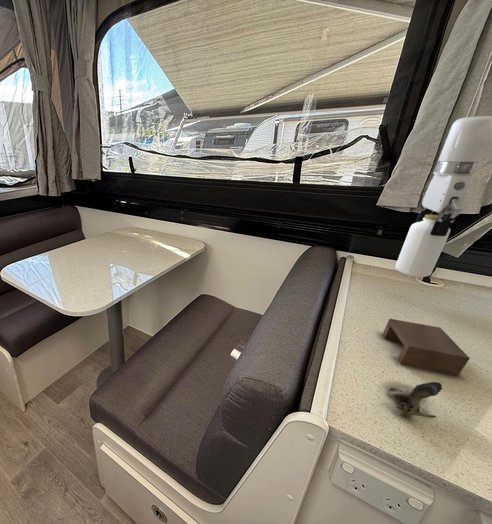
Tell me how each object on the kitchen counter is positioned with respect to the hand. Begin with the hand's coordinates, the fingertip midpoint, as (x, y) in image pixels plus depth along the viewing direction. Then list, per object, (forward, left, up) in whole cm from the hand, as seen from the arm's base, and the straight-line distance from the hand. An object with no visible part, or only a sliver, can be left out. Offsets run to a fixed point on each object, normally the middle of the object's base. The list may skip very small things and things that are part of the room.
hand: (428, 230), depth 79 cm
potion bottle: (0, 0, -14) cm, 14 cm away
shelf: (+7, +31, -23) cm, 40 cm away
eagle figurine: (+15, +49, -24) cm, 56 cm away
